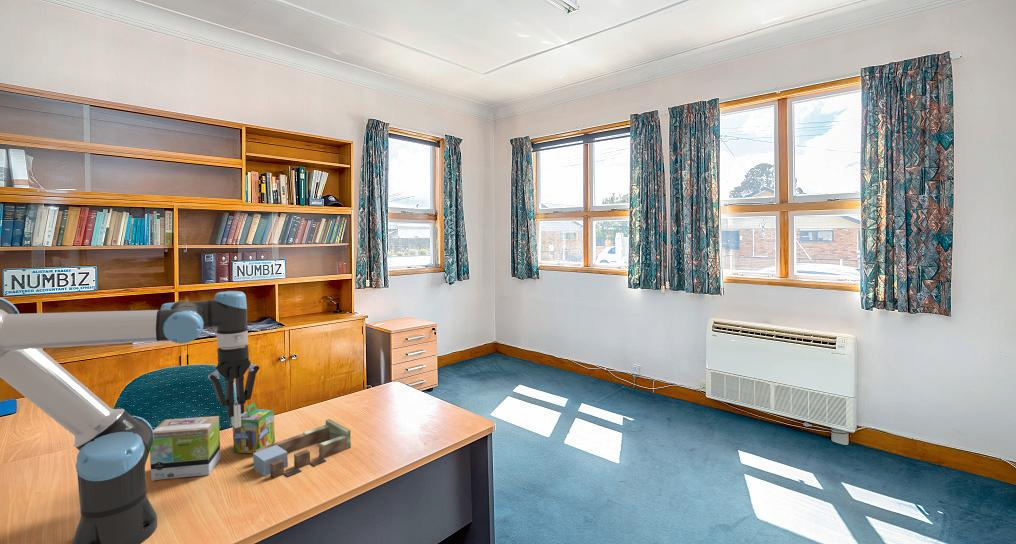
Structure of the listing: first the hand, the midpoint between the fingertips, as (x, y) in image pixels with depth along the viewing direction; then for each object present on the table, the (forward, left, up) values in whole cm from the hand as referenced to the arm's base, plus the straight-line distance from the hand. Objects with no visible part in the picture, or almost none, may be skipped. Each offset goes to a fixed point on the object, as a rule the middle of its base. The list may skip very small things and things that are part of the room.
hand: (236, 425), depth 129 cm
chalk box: (+11, +17, -17) cm, 26 cm away
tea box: (-8, +17, -17) cm, 25 cm away
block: (+9, 0, -17) cm, 19 cm away
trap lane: (+19, -1, -16) cm, 26 cm away
